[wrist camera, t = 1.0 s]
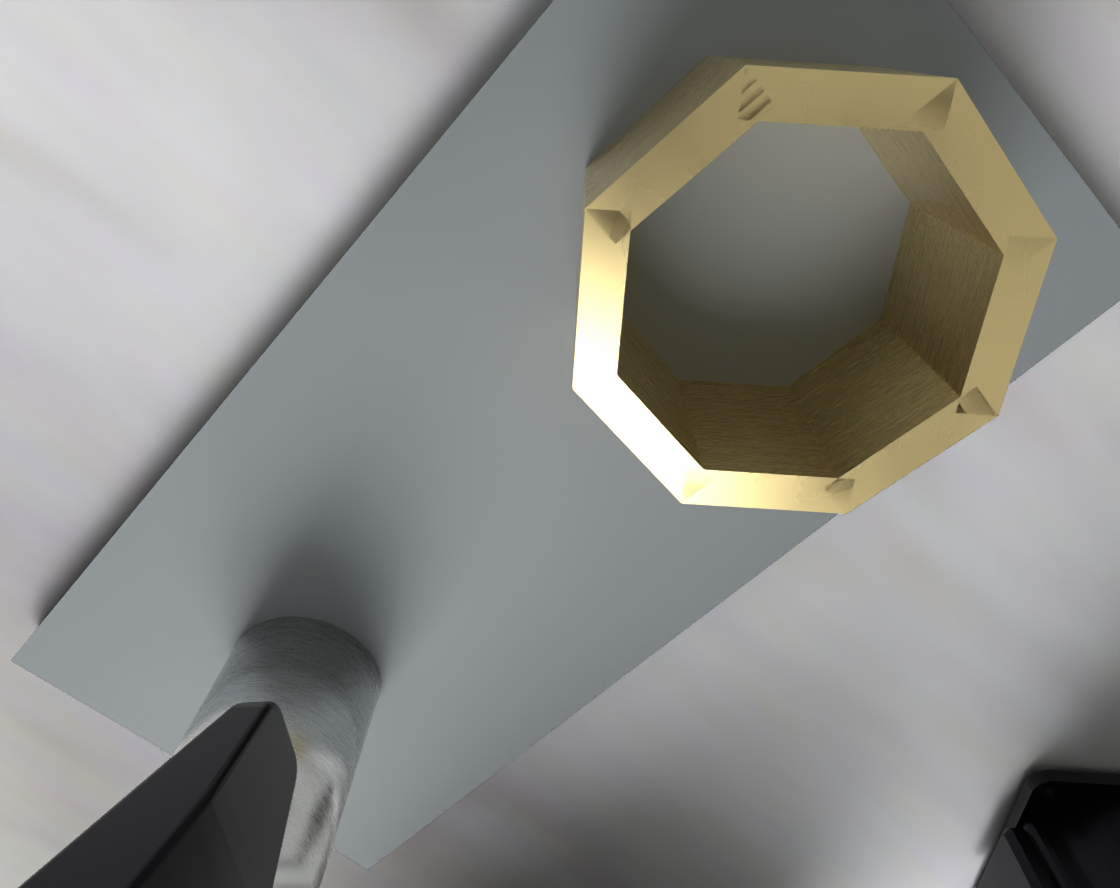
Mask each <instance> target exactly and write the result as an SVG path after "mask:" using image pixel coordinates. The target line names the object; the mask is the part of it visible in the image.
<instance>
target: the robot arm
mask: <svg viewBox="0 0 1120 888" xmlns="http://www.w3.org/2000/svg"><path fill="white" fill-rule="evenodd" d="M296 778H297V759H296V754H295V751H294V748H293V745H292V742H291V739H290V736H289V733H288V730H287V726H286V723H285V720H284V717H283V714H282V711H281V709H280V707H279V706H278V705H277V704H276V703H275V702H271V701H261V702H242V703H238V704H235V705H233V706H232V707H231V708H229V709H228V710H227V711H226V712H224V713H223V714H222V715H221V716H220V717H218V718H217V719H216V720H215V721H214V722H213V723H211V724H210V725H209V726H208V727H207V728H206V729H204V730H203V731H202V732H201V733H200V734H198V735H197V736H196V737H195V738H194V739H193V740H191V741H190V742H189V743H188V744H187V745H186V746H184V747H183V748H182V749H181V750H180V751H178V752H177V753H176V754H175V755H174V756H173V757H171V758H170V759H169V760H168V761H167V762H166V763H164V764H163V765H162V766H161V767H160V768H158V769H157V770H156V771H155V772H154V773H153V774H151V775H150V776H149V777H148V778H147V779H146V780H144V781H143V782H142V783H141V784H140V785H138V786H137V787H136V788H135V789H134V790H133V791H131V792H130V793H129V794H128V795H127V796H125V797H124V798H123V799H122V800H121V801H120V802H118V803H117V804H116V805H115V806H114V807H113V808H111V809H110V810H109V811H108V812H107V813H105V814H104V815H103V816H102V817H101V818H100V819H98V820H97V821H96V822H95V823H94V824H93V825H91V826H90V827H89V828H88V829H87V830H85V831H84V832H83V833H82V834H81V835H80V836H78V837H77V838H76V839H75V840H74V841H73V842H71V843H70V844H69V845H68V846H67V847H65V848H64V849H63V850H62V851H61V852H60V853H58V854H57V855H56V856H55V857H54V858H52V859H51V860H50V861H49V862H48V863H47V864H45V865H44V866H43V867H42V868H41V869H40V870H38V871H37V872H36V873H35V874H34V875H32V876H31V877H30V878H29V879H28V880H27V881H25V882H24V883H23V884H22V885H21V886H20V887H18V888H273V884H274V880H275V875H276V871H277V866H278V862H279V857H280V852H281V848H282V843H283V839H284V834H285V829H286V825H287V820H288V816H289V811H290V807H291V802H292V797H293V793H294V788H295V784H296ZM977 888H1120V774H1104V773H1089V772H1073V771H1058V770H1040V771H1037V772H1034V773H1033V774H1031V775H1030V776H1029V777H1028V778H1027V779H1026V781H1025V783H1024V785H1023V787H1022V789H1021V791H1020V794H1019V796H1018V798H1017V800H1016V802H1015V805H1014V807H1013V809H1012V811H1011V813H1010V816H1009V818H1008V820H1007V822H1006V824H1005V827H1004V829H1003V831H1002V833H1001V835H1000V838H999V840H998V842H997V844H996V846H995V848H994V851H993V853H992V855H991V857H990V859H989V862H988V864H987V866H986V868H985V870H984V873H983V875H982V877H981V879H980V881H979V884H978V886H977Z"/></svg>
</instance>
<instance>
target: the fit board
mask: <svg viewBox="0 0 1120 888" xmlns="http://www.w3.org/2000/svg"><path fill="white" fill-rule="evenodd" d="M706 56H721V57H737V58H753V59H768V60H784V61H799V62H815V63H830V64H846V65H862V66H872V67H879V68H887V69H894V70H901V71H908V72H915V73H922V74H930V75H937V76H944V77H951V78H958V80H959V81H960V83H961V84H962V86H963V88H964V89H965V91H966V92H967V94H968V96H969V97H970V99H971V101H972V102H973V104H974V105H975V107H976V109H977V110H978V112H979V113H980V115H981V117H982V118H983V120H984V121H985V123H986V125H987V126H988V128H989V130H990V131H991V133H992V134H993V136H994V138H995V139H996V141H997V142H998V144H999V146H1000V147H1001V149H1002V150H1003V152H1004V154H1005V155H1006V157H1007V159H1008V160H1009V162H1010V163H1011V165H1012V167H1013V168H1014V170H1015V171H1016V173H1017V175H1018V176H1019V178H1020V179H1021V181H1022V183H1023V184H1024V186H1025V188H1026V189H1027V191H1028V192H1029V194H1030V196H1031V197H1032V199H1033V200H1034V202H1035V204H1036V205H1037V207H1038V208H1039V210H1040V212H1041V213H1042V215H1043V217H1044V218H1045V220H1046V221H1047V223H1048V225H1049V226H1050V228H1051V229H1052V231H1053V233H1054V234H1055V236H1056V238H1057V241H1056V244H1055V247H1054V250H1053V253H1052V256H1051V259H1050V262H1049V265H1048V268H1047V271H1046V274H1045V277H1044V280H1043V283H1042V286H1041V289H1040V292H1039V295H1038V298H1037V301H1036V304H1035V307H1034V310H1033V313H1032V316H1031V319H1030V322H1029V325H1028V328H1027V331H1026V334H1025V337H1024V340H1023V343H1022V346H1021V349H1020V352H1019V355H1018V358H1017V361H1016V364H1015V367H1014V370H1013V373H1012V376H1011V379H1010V382H1009V384H1010V383H1012V382H1013V381H1014V380H1016V379H1017V378H1018V377H1020V376H1021V375H1022V374H1024V373H1025V372H1026V371H1027V370H1029V369H1030V368H1031V367H1033V366H1034V365H1035V364H1037V363H1038V362H1039V361H1041V360H1042V359H1043V358H1045V357H1046V356H1047V355H1049V354H1050V353H1051V352H1053V351H1054V350H1055V349H1057V348H1058V347H1059V346H1061V345H1062V344H1063V343H1064V342H1066V341H1067V340H1068V339H1070V338H1071V337H1072V336H1074V335H1075V334H1076V333H1078V332H1079V331H1080V330H1082V329H1083V328H1084V327H1086V326H1087V325H1088V324H1090V323H1091V322H1092V321H1094V320H1095V319H1096V318H1098V317H1099V316H1100V315H1101V314H1103V313H1104V312H1105V311H1107V310H1108V309H1109V308H1111V307H1112V306H1113V305H1115V304H1116V303H1117V302H1119V301H1120V228H1119V227H1118V226H1117V224H1116V223H1115V222H1114V220H1113V219H1112V218H1111V216H1110V215H1109V214H1108V212H1107V211H1106V210H1105V208H1104V207H1103V206H1102V204H1101V203H1100V202H1099V200H1098V199H1097V198H1096V196H1095V195H1094V194H1093V192H1092V191H1091V190H1090V188H1089V187H1088V186H1087V184H1086V183H1085V182H1084V180H1083V179H1082V178H1081V176H1080V175H1079V174H1078V172H1077V171H1076V170H1075V168H1074V167H1073V166H1072V165H1071V163H1070V162H1069V161H1068V159H1067V158H1066V157H1065V155H1064V154H1063V153H1062V151H1061V150H1060V149H1059V147H1058V146H1057V145H1056V143H1055V142H1054V141H1053V139H1052V138H1051V137H1050V135H1049V134H1048V133H1047V131H1046V130H1045V129H1044V127H1043V126H1042V125H1041V123H1040V122H1039V121H1038V119H1037V118H1036V117H1035V115H1034V114H1033V113H1032V111H1031V110H1030V109H1029V107H1028V106H1027V105H1026V104H1025V102H1024V101H1023V100H1022V98H1021V97H1020V96H1019V94H1018V93H1017V92H1016V90H1015V89H1014V88H1013V86H1012V85H1011V84H1010V82H1009V81H1008V80H1007V78H1006V77H1005V76H1004V74H1003V73H1002V72H1001V70H1000V69H999V68H998V66H997V65H996V64H995V62H994V61H993V60H992V58H991V57H990V56H989V54H988V53H987V52H986V50H985V49H984V48H983V47H982V45H981V44H980V43H979V41H978V40H977V39H976V37H975V36H974V35H973V33H972V32H971V31H970V29H969V28H968V27H967V25H966V24H965V23H964V21H963V20H962V19H961V17H960V16H959V15H958V13H957V12H956V11H955V9H954V8H953V7H952V5H951V4H950V3H949V1H948V0H553V2H552V3H551V4H550V5H549V7H548V8H547V9H546V10H545V11H544V13H543V14H542V15H541V16H540V17H539V19H538V20H537V21H536V22H535V24H534V25H533V26H532V27H531V28H530V30H529V31H528V32H527V33H526V34H525V36H524V37H523V38H522V39H521V41H520V42H519V43H518V44H517V45H516V47H515V48H514V49H513V50H512V51H511V53H510V54H509V55H508V56H507V58H506V59H505V60H504V61H503V62H502V64H501V65H500V66H499V67H498V69H497V70H496V71H495V72H494V73H493V75H492V76H491V77H490V78H489V79H488V81H487V82H486V83H485V84H484V86H483V87H482V88H481V89H480V90H479V92H478V93H477V94H476V95H475V96H474V98H473V99H472V100H471V101H470V103H469V104H468V105H467V106H466V107H465V109H464V110H463V111H462V112H461V114H460V115H459V116H458V117H457V118H456V120H455V121H454V122H453V123H452V124H451V126H450V127H449V128H448V129H447V131H446V132H445V133H444V134H443V135H442V137H441V138H440V139H439V140H438V141H437V143H436V144H435V145H434V146H433V148H432V149H431V150H430V151H429V152H428V154H427V155H426V156H425V157H424V158H423V160H422V161H421V162H420V163H419V165H418V166H417V167H416V168H415V169H414V171H413V172H412V173H411V174H410V176H409V177H408V178H407V179H406V180H405V182H404V183H403V184H402V185H401V186H400V188H399V189H398V190H397V191H396V193H395V194H394V195H393V196H392V197H391V199H390V200H389V201H388V202H387V203H386V205H385V206H384V207H383V208H382V210H381V211H380V212H379V213H378V214H377V216H376V217H375V218H374V219H373V220H372V222H371V223H370V224H369V225H368V227H367V228H366V229H365V230H364V231H363V233H362V234H361V235H360V236H359V238H358V239H357V240H356V241H355V242H354V244H353V245H352V246H351V247H350V248H349V250H348V251H347V252H346V253H345V255H344V256H343V257H342V258H341V259H340V261H339V262H338V263H337V264H336V265H335V267H334V268H333V269H332V270H331V272H330V273H329V274H328V275H327V276H326V278H325V279H324V280H323V281H322V282H321V284H320V285H319V286H318V287H317V289H316V290H315V291H314V292H313V293H312V295H311V296H310V297H309V298H308V300H307V301H306V302H305V303H304V304H303V306H302V307H301V308H300V309H299V310H298V312H297V313H296V314H295V315H294V317H293V318H292V319H291V320H290V321H289V323H288V324H287V325H286V326H285V327H284V329H283V330H282V331H281V332H280V334H279V335H278V336H277V337H276V338H275V340H274V341H273V342H272V343H271V345H270V346H269V347H268V348H267V349H266V351H265V352H264V353H263V354H262V355H261V357H260V358H259V359H258V360H257V362H256V363H255V364H254V365H253V366H252V368H251V369H250V370H249V371H248V372H247V374H246V375H245V376H244V377H243V379H242V380H241V381H240V382H239V383H238V385H237V386H236V387H235V388H234V389H233V391H232V392H231V393H230V394H229V396H228V397H227V398H226V399H225V400H224V402H223V403H222V404H221V405H220V407H219V408H218V409H217V410H216V411H215V413H214V414H213V415H212V416H211V417H210V419H209V420H208V421H207V422H206V424H205V425H204V426H203V427H202V428H201V430H200V431H199V432H198V433H197V434H196V436H195V437H194V438H193V439H192V441H191V442H190V443H189V444H188V445H187V447H186V448H185V449H184V450H183V451H182V453H181V454H180V455H179V456H178V458H177V459H176V460H175V461H174V462H173V464H172V465H171V466H170V467H169V469H168V470H167V471H166V472H165V473H164V475H163V476H162V477H161V478H160V479H159V481H158V482H157V483H156V484H155V486H154V487H153V488H152V489H151V490H150V492H149V493H148V494H147V495H146V496H145V498H144V499H143V500H142V501H141V503H140V504H139V505H138V506H137V507H136V509H135V510H134V511H133V512H132V513H131V515H130V516H129V517H128V518H127V520H126V521H125V522H124V523H123V524H122V526H121V527H120V528H119V529H118V531H117V532H116V533H115V534H114V535H113V537H112V538H111V539H110V540H109V541H108V543H107V544H106V545H105V546H104V548H103V549H102V550H101V551H100V552H99V554H98V555H97V556H96V557H95V558H94V560H93V561H92V562H91V563H90V565H89V566H88V567H87V568H86V569H85V571H84V572H83V573H82V574H81V575H80V577H79V578H78V579H77V580H76V582H75V583H74V584H73V585H72V586H71V588H70V589H69V590H68V591H67V593H66V594H65V595H64V596H63V597H62V599H61V600H60V601H59V602H58V603H57V605H56V606H55V607H54V608H53V610H52V611H51V612H50V613H49V614H48V616H47V617H46V618H45V619H44V620H43V622H42V623H41V624H40V625H39V627H38V628H37V629H36V630H35V631H34V633H33V634H32V635H31V636H30V638H29V639H28V640H27V641H26V642H25V644H24V645H23V646H22V647H21V648H20V650H19V651H18V652H17V653H16V655H15V656H14V657H13V658H12V659H11V661H12V662H13V663H15V664H17V665H19V666H20V667H22V668H24V669H25V670H27V671H29V672H31V673H32V674H34V675H36V676H37V677H39V678H41V679H43V680H44V681H46V682H48V683H49V684H51V685H53V686H55V687H56V688H58V689H60V690H61V691H63V692H65V693H67V694H68V695H70V696H72V697H73V698H75V699H77V700H78V701H80V702H82V703H84V704H85V705H87V706H89V707H90V708H92V709H94V710H96V711H97V712H99V713H101V714H102V715H104V716H106V717H108V718H109V719H111V720H113V721H114V722H116V723H118V724H120V725H121V726H123V727H125V728H126V729H128V730H130V731H132V732H133V733H135V734H137V735H138V736H140V737H142V738H143V739H145V740H147V741H149V742H150V743H152V744H154V745H155V746H157V747H159V748H161V749H162V750H164V751H166V752H167V753H169V754H171V755H173V756H174V755H175V754H176V753H177V752H178V751H180V750H181V749H182V748H183V747H184V746H186V745H187V744H188V743H189V742H190V741H191V740H193V739H194V738H195V737H196V736H197V735H198V734H200V733H201V732H202V731H203V730H204V729H206V728H207V727H208V726H209V725H210V724H211V723H213V722H214V721H215V720H216V719H217V718H218V717H220V716H221V715H222V714H223V713H224V712H226V711H227V710H228V709H229V708H231V707H232V706H233V705H235V704H238V703H242V702H261V701H271V702H275V703H276V704H277V705H278V706H279V707H280V709H281V711H282V714H283V717H284V720H285V723H286V726H287V730H288V733H289V736H290V739H291V742H292V745H293V748H294V751H295V754H296V759H297V778H296V784H295V788H294V793H293V797H292V802H291V807H290V811H289V816H288V820H287V825H286V829H285V834H284V839H283V843H282V848H281V852H280V857H279V862H278V866H277V871H276V875H275V880H274V884H273V888H319V887H320V884H321V881H322V877H323V874H324V871H325V868H326V865H327V861H328V858H329V855H330V852H331V848H332V849H333V850H335V851H337V852H338V853H340V854H342V855H344V856H345V857H347V858H349V859H350V860H352V861H354V862H356V863H357V864H359V865H361V866H362V867H364V868H366V869H369V868H371V867H372V866H373V865H375V864H376V863H377V862H379V861H380V860H381V859H383V858H384V857H385V856H387V855H388V854H389V853H391V852H392V851H393V850H395V849H396V848H397V847H399V846H400V845H401V844H402V843H404V842H405V841H406V840H408V839H409V838H410V837H412V836H413V835H414V834H416V833H417V832H418V831H420V830H421V829H422V828H424V827H425V826H426V825H428V824H429V823H430V822H432V821H433V820H434V819H436V818H437V817H438V816H439V815H441V814H442V813H443V812H445V811H446V810H447V809H449V808H450V807H451V806H453V805H454V804H455V803H457V802H458V801H459V800H461V799H462V798H463V797H465V796H466V795H467V794H469V793H470V792H471V791H473V790H474V789H475V788H476V787H478V786H479V785H480V784H482V783H483V782H484V781H486V780H487V779H488V778H490V777H491V776H492V775H494V774H495V773H496V772H498V771H499V770H500V769H502V768H503V767H504V766H506V765H507V764H508V763H510V762H511V761H512V760H513V759H515V758H516V757H517V756H519V755H520V754H521V753H523V752H524V751H525V750H527V749H528V748H529V747H531V746H532V745H533V744H535V743H536V742H537V741H539V740H540V739H541V738H543V737H544V736H545V735H547V734H548V733H549V732H550V731H552V730H553V729H554V728H556V727H557V726H558V725H560V724H561V723H562V722H564V721H565V720H566V719H568V718H569V717H570V716H572V715H573V714H574V713H576V712H577V711H578V710H580V709H581V708H582V707H584V706H585V705H586V704H587V703H589V702H590V701H591V700H593V699H594V698H595V697H597V696H598V695H599V694H601V693H602V692H603V691H605V690H606V689H607V688H609V687H610V686H611V685H613V684H614V683H615V682H617V681H618V680H619V679H621V678H622V677H623V676H624V675H626V674H627V673H628V672H630V671H631V670H632V669H634V668H635V667H636V666H638V665H639V664H640V663H642V662H643V661H644V660H646V659H647V658H648V657H650V656H651V655H652V654H654V653H655V652H656V651H658V650H659V649H660V648H661V647H663V646H664V645H665V644H667V643H668V642H669V641H671V640H672V639H673V638H675V637H676V636H677V635H679V634H680V633H681V632H683V631H684V630H685V629H687V628H688V627H689V626H691V625H692V624H693V623H694V622H696V621H697V620H698V619H700V618H701V617H702V616H704V615H705V614H706V613H708V612H709V611H710V610H712V609H713V608H714V607H716V606H717V605H718V604H720V603H721V602H722V601H724V600H725V599H726V598H728V597H729V596H730V595H731V594H733V593H734V592H735V591H737V590H738V589H739V588H741V587H742V586H743V585H745V584H746V583H747V582H749V581H750V580H751V579H753V578H754V577H755V576H757V575H758V574H759V573H761V572H762V571H763V570H765V569H766V568H767V567H768V566H770V565H771V564H772V563H774V562H775V561H776V560H778V559H779V558H780V557H782V556H783V555H784V554H786V553H787V552H788V551H790V550H791V549H792V548H794V547H795V546H796V545H798V544H799V543H800V542H802V541H803V540H804V539H805V538H807V537H808V536H809V535H811V534H812V533H813V532H815V531H816V530H817V529H819V528H820V527H821V526H823V525H824V524H825V523H827V522H828V521H829V520H831V519H832V518H833V517H835V516H836V515H837V514H839V513H825V512H809V511H793V510H778V509H762V508H746V507H731V506H715V505H700V504H684V503H681V502H680V501H679V500H678V499H677V498H676V497H675V496H674V495H673V494H672V493H671V492H670V491H669V490H668V489H667V487H666V486H665V485H664V484H663V483H662V482H661V481H660V480H659V479H658V478H657V477H656V476H655V475H654V474H653V473H652V472H651V471H650V470H649V469H648V467H647V466H646V465H645V464H644V463H643V462H642V461H641V460H640V459H639V458H638V457H637V456H636V455H635V454H634V453H633V452H632V451H631V450H630V449H629V448H628V446H627V445H626V444H625V443H624V442H623V441H622V440H621V439H620V438H619V437H618V436H617V435H616V434H615V433H614V432H613V431H612V430H611V429H610V428H609V426H608V425H607V424H606V423H605V422H604V421H603V420H602V419H601V418H600V417H599V416H598V415H597V414H596V413H595V412H594V411H593V410H592V409H591V408H590V406H589V405H588V404H587V403H586V402H585V401H584V400H583V399H582V398H581V397H580V396H579V395H578V394H577V393H576V392H575V391H574V390H573V363H574V338H575V312H576V298H577V283H578V268H579V254H580V239H581V224H582V210H583V195H584V180H585V167H586V166H587V165H588V164H589V163H590V162H592V161H593V160H594V159H595V158H596V157H597V156H598V155H599V154H600V153H601V152H602V151H604V150H605V149H606V148H607V147H608V146H609V145H610V144H611V143H612V142H613V141H614V140H616V139H617V138H618V137H619V136H620V135H621V134H622V133H623V132H624V131H625V130H626V129H628V128H629V127H630V126H631V125H632V124H633V123H634V122H635V121H636V120H637V119H638V118H640V117H641V116H642V115H643V114H644V113H645V112H646V111H647V110H648V109H649V108H650V107H652V106H653V105H654V104H655V103H656V102H657V101H658V100H659V99H660V98H661V97H662V96H664V95H665V94H666V93H667V92H668V91H669V90H670V89H671V88H672V87H673V86H675V85H676V84H677V83H678V82H679V81H680V80H681V79H682V78H683V77H684V76H685V75H687V74H688V73H689V72H690V71H691V70H692V69H693V68H694V67H695V66H696V65H697V64H699V63H700V62H701V61H702V60H703V59H704V58H705V57H706ZM909 204H910V203H909V202H908V200H907V199H906V197H905V196H904V195H903V193H902V192H901V190H900V189H899V187H898V186H897V184H896V183H895V181H894V180H893V179H892V177H891V176H890V174H889V173H888V171H887V170H886V168H885V167H884V165H883V164H882V162H881V161H880V160H879V158H878V157H877V155H876V154H875V152H874V151H873V149H872V148H871V146H870V145H869V144H868V142H867V141H866V139H865V138H864V136H863V135H862V133H861V132H860V130H859V129H858V127H843V126H828V125H812V124H797V123H781V122H765V121H758V122H757V123H756V124H754V125H753V126H752V127H751V128H750V129H749V130H747V131H746V132H745V133H744V134H743V135H742V136H740V137H739V138H738V139H737V140H736V141H735V142H733V143H732V144H731V145H730V146H729V147H728V148H727V149H725V150H724V151H723V152H722V153H721V154H720V155H718V156H717V157H716V158H715V159H714V160H713V161H711V162H710V163H709V164H708V165H707V166H706V167H704V168H703V169H702V170H701V171H700V172H699V173H698V174H696V175H695V176H694V177H693V178H692V179H691V180H689V181H688V182H687V183H686V184H685V185H684V186H682V187H681V188H680V189H679V190H678V191H677V192H675V193H674V194H673V195H672V196H671V197H670V198H668V199H667V200H666V201H665V202H664V203H663V204H662V205H660V206H659V207H658V208H657V209H656V210H655V211H653V212H652V213H651V214H650V215H649V216H648V217H646V218H645V219H644V220H643V221H642V222H641V223H639V224H638V225H637V226H636V227H635V228H634V229H633V230H631V231H630V241H629V251H628V262H627V272H626V282H625V293H624V303H623V314H622V315H623V316H624V317H625V318H626V320H627V321H628V322H629V323H630V324H631V325H632V326H633V327H634V329H635V330H636V331H637V332H638V333H639V334H640V335H641V336H642V338H643V339H644V340H645V341H646V342H647V343H648V344H649V346H650V347H651V348H652V349H653V350H654V351H655V352H656V353H657V355H658V356H659V357H660V358H661V359H662V360H663V361H664V362H665V364H666V365H667V366H668V367H669V368H670V369H671V370H672V372H673V373H674V374H675V375H676V376H677V377H678V378H679V379H680V380H691V381H707V382H723V383H738V384H754V385H769V386H785V387H787V386H789V385H790V384H792V383H793V382H794V381H796V380H797V379H798V378H800V377H801V376H803V375H804V374H805V373H807V372H808V371H809V370H811V369H812V368H814V367H815V366H816V365H818V364H819V363H821V362H822V361H823V360H825V359H826V358H827V357H829V356H830V355H832V354H833V353H834V352H836V351H837V350H838V349H840V348H841V347H843V346H844V345H845V344H847V343H848V342H850V341H851V340H852V339H854V338H855V337H856V336H858V335H859V334H861V333H862V332H863V331H865V330H866V329H867V328H869V327H870V326H872V325H873V324H874V323H876V322H877V321H879V320H880V319H881V318H882V313H883V309H884V305H885V301H886V297H887V293H888V289H889V285H890V281H891V277H892V273H893V269H894V265H895V261H896V257H897V253H898V249H899V245H900V241H901V237H902V233H903V229H904V225H905V221H906V217H907V212H908V208H909ZM173 756H172V757H173Z"/></svg>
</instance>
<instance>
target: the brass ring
mask: <svg viewBox="0 0 1120 888" xmlns="http://www.w3.org/2000/svg"><path fill="white" fill-rule="evenodd" d="M758 121H765V122H781V123H797V124H812V125H828V126H843V127H858V129H859V130H860V132H861V133H862V135H863V136H864V138H865V139H866V141H867V142H868V144H869V145H870V146H871V148H872V149H873V151H874V152H875V154H876V155H877V157H878V158H879V160H880V161H881V162H882V164H883V165H884V167H885V168H886V170H887V171H888V173H889V174H890V176H891V177H892V179H893V180H894V181H895V183H896V184H897V186H898V187H899V189H900V190H901V192H902V193H903V195H904V196H905V197H906V199H907V200H908V202H909V203H910V204H909V208H908V212H907V217H906V221H905V225H904V229H903V233H902V237H901V241H900V245H899V249H898V253H897V257H896V261H895V265H894V269H893V273H892V277H891V281H890V285H889V289H888V293H887V297H886V301H885V305H884V309H883V313H882V318H881V319H880V320H879V321H877V322H876V323H874V324H873V325H872V326H870V327H869V328H867V329H866V330H865V331H863V332H862V333H861V334H859V335H858V336H856V337H855V338H854V339H852V340H851V341H850V342H848V343H847V344H845V345H844V346H843V347H841V348H840V349H838V350H837V351H836V352H834V353H833V354H832V355H830V356H829V357H827V358H826V359H825V360H823V361H822V362H821V363H819V364H818V365H816V366H815V367H814V368H812V369H811V370H809V371H808V372H807V373H805V374H804V375H803V376H801V377H800V378H798V379H797V380H796V381H794V382H793V383H792V384H790V385H789V386H787V387H785V386H769V385H754V384H738V383H723V382H707V381H691V380H680V379H679V378H678V377H677V376H676V375H675V374H674V373H673V372H672V370H671V369H670V368H669V367H668V366H667V365H666V364H665V362H664V361H663V360H662V359H661V358H660V357H659V356H658V355H657V353H656V352H655V351H654V350H653V349H652V348H651V347H650V346H649V344H648V343H647V342H646V341H645V340H644V339H643V338H642V336H641V335H640V334H639V333H638V332H637V331H636V330H635V329H634V327H633V326H632V325H631V324H630V323H629V322H628V321H627V320H626V318H625V317H624V316H623V315H622V314H623V303H624V293H625V282H626V272H627V262H628V251H629V241H630V231H631V230H633V229H634V228H635V227H636V226H637V225H638V224H639V223H641V222H642V221H643V220H644V219H645V218H646V217H648V216H649V215H650V214H651V213H652V212H653V211H655V210H656V209H657V208H658V207H659V206H660V205H662V204H663V203H664V202H665V201H666V200H667V199H668V198H670V197H671V196H672V195H673V194H674V193H675V192H677V191H678V190H679V189H680V188H681V187H682V186H684V185H685V184H686V183H687V182H688V181H689V180H691V179H692V178H693V177H694V176H695V175H696V174H698V173H699V172H700V171H701V170H702V169H703V168H704V167H706V166H707V165H708V164H709V163H710V162H711V161H713V160H714V159H715V158H716V157H717V156H718V155H720V154H721V153H722V152H723V151H724V150H725V149H727V148H728V147H729V146H730V145H731V144H732V143H733V142H735V141H736V140H737V139H738V138H739V137H740V136H742V135H743V134H744V133H745V132H746V131H747V130H749V129H750V128H751V127H752V126H753V125H754V124H756V123H757V122H758ZM1056 241H1057V238H1056V236H1055V234H1054V233H1053V231H1052V229H1051V228H1050V226H1049V225H1048V223H1047V221H1046V220H1045V218H1044V217H1043V215H1042V213H1041V212H1040V210H1039V208H1038V207H1037V205H1036V204H1035V202H1034V200H1033V199H1032V197H1031V196H1030V194H1029V192H1028V191H1027V189H1026V188H1025V186H1024V184H1023V183H1022V181H1021V179H1020V178H1019V176H1018V175H1017V173H1016V171H1015V170H1014V168H1013V167H1012V165H1011V163H1010V162H1009V160H1008V159H1007V157H1006V155H1005V154H1004V152H1003V150H1002V149H1001V147H1000V146H999V144H998V142H997V141H996V139H995V138H994V136H993V134H992V133H991V131H990V130H989V128H988V126H987V125H986V123H985V121H984V120H983V118H982V117H981V115H980V113H979V112H978V110H977V109H976V107H975V105H974V104H973V102H972V101H971V99H970V97H969V96H968V94H967V92H966V91H965V89H964V88H963V86H962V84H961V83H960V81H959V80H958V78H951V77H944V76H937V75H930V74H922V73H915V72H908V71H901V70H894V69H887V68H879V67H872V66H862V65H846V64H830V63H815V62H799V61H784V60H768V59H753V58H737V57H721V56H706V57H705V58H704V59H703V60H702V61H701V62H700V63H699V64H697V65H696V66H695V67H694V68H693V69H692V70H691V71H690V72H689V73H688V74H687V75H685V76H684V77H683V78H682V79H681V80H680V81H679V82H678V83H677V84H676V85H675V86H673V87H672V88H671V89H670V90H669V91H668V92H667V93H666V94H665V95H664V96H662V97H661V98H660V99H659V100H658V101H657V102H656V103H655V104H654V105H653V106H652V107H650V108H649V109H648V110H647V111H646V112H645V113H644V114H643V115H642V116H641V117H640V118H638V119H637V120H636V121H635V122H634V123H633V124H632V125H631V126H630V127H629V128H628V129H626V130H625V131H624V132H623V133H622V134H621V135H620V136H619V137H618V138H617V139H616V140H614V141H613V142H612V143H611V144H610V145H609V146H608V147H607V148H606V149H605V150H604V151H602V152H601V153H600V154H599V155H598V156H597V157H596V158H595V159H594V160H593V161H592V162H590V163H589V164H588V165H587V166H586V167H585V180H584V195H583V210H582V224H581V239H580V254H579V268H578V283H577V298H576V312H575V338H574V363H573V390H574V391H575V392H576V393H577V394H578V395H579V396H580V397H581V398H582V399H583V400H584V401H585V402H586V403H587V404H588V405H589V406H590V408H591V409H592V410H593V411H594V412H595V413H596V414H597V415H598V416H599V417H600V418H601V419H602V420H603V421H604V422H605V423H606V424H607V425H608V426H609V428H610V429H611V430H612V431H613V432H614V433H615V434H616V435H617V436H618V437H619V438H620V439H621V440H622V441H623V442H624V443H625V444H626V445H627V446H628V448H629V449H630V450H631V451H632V452H633V453H634V454H635V455H636V456H637V457H638V458H639V459H640V460H641V461H642V462H643V463H644V464H645V465H646V466H647V467H648V469H649V470H650V471H651V472H652V473H653V474H654V475H655V476H656V477H657V478H658V479H659V480H660V481H661V482H662V483H663V484H664V485H665V486H666V487H667V489H668V490H669V491H670V492H671V493H672V494H673V495H674V496H675V497H676V498H677V499H678V500H679V501H680V502H681V503H684V504H700V505H715V506H731V507H746V508H762V509H778V510H793V511H809V512H825V513H840V514H847V513H848V512H850V511H851V510H853V509H855V508H856V507H858V506H859V505H861V504H862V503H864V502H865V501H867V500H868V499H870V498H872V497H873V496H875V495H876V494H878V493H879V492H881V491H882V490H884V489H886V488H887V487H889V486H890V485H892V484H893V483H895V482H896V481H898V480H899V479H901V478H903V477H904V476H906V475H907V474H909V473H910V472H912V471H913V470H915V469H916V468H918V467H920V466H921V465H923V464H924V463H926V462H927V461H929V460H930V459H932V458H934V457H935V456H937V455H938V454H940V453H941V452H943V451H944V450H946V449H947V448H949V447H951V446H952V445H954V444H955V443H957V442H958V441H960V440H961V439H963V438H965V437H966V436H968V435H969V434H971V433H972V432H974V431H975V430H977V429H978V428H980V427H982V426H983V425H985V424H986V423H988V422H989V421H991V420H992V419H994V418H995V417H997V416H998V414H999V411H1000V408H1001V405H1002V403H1003V400H1004V397H1005V394H1006V391H1007V388H1008V385H1009V382H1010V379H1011V376H1012V373H1013V370H1014V367H1015V364H1016V361H1017V358H1018V355H1019V352H1020V349H1021V346H1022V343H1023V340H1024V337H1025V334H1026V331H1027V328H1028V325H1029V322H1030V319H1031V316H1032V313H1033V310H1034V307H1035V304H1036V301H1037V298H1038V295H1039V292H1040V289H1041V286H1042V283H1043V280H1044V277H1045V274H1046V271H1047V268H1048V265H1049V262H1050V259H1051V256H1052V253H1053V250H1054V247H1055V244H1056Z"/></svg>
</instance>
